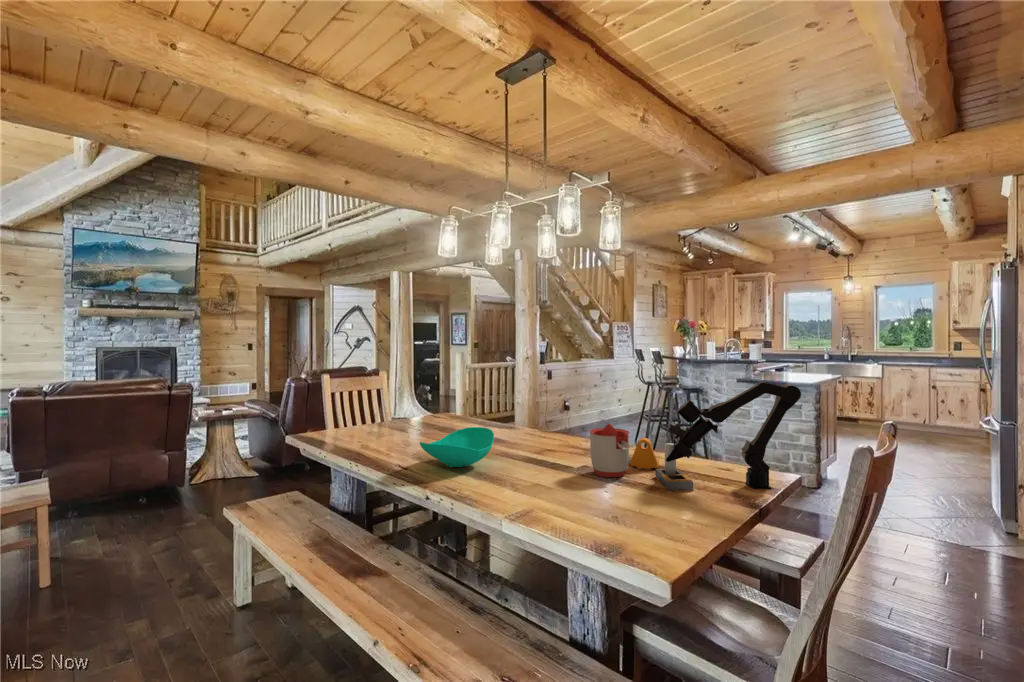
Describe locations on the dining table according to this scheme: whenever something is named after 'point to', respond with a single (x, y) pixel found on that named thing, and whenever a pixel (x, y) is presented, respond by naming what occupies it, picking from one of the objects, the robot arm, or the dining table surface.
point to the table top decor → (461, 446)
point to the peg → (670, 466)
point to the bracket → (644, 455)
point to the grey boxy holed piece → (674, 480)
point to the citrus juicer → (609, 451)
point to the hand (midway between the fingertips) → (666, 459)
